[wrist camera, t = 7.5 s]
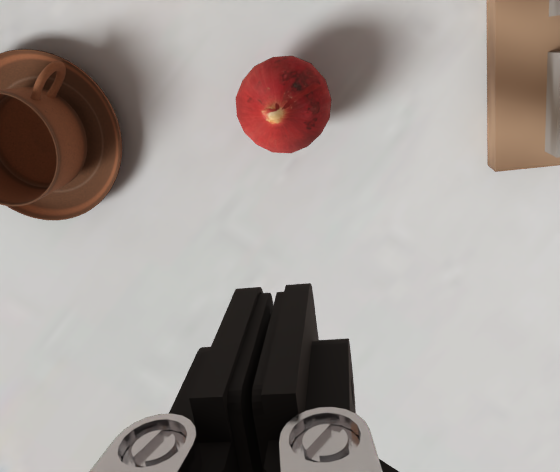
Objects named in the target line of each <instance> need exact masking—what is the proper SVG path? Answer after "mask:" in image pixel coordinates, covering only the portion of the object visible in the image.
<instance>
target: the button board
mask: <svg viewBox="0 0 560 472" xmlns="http://www.w3.org/2000/svg"><path fill="white" fill-rule="evenodd" d="M487 143H488V166H489V167H491V168H492V169H493V170H494V171H495V172H497V171H507V170H517V169H527V168H537V167H546V166H556V165H560V0H487Z"/></svg>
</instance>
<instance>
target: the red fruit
mask: <svg viewBox="0 0 560 472" xmlns="http://www.w3.org/2000/svg"><path fill="white" fill-rule="evenodd" d="M330 107H331V97H330V94H329V90H328V87H327V83H326V80H325V78H324V77H323V76H322V75H321V74H320V73H319V72H318V71H317V69H316V68H315V67H314V66H313V65H312V64H311V63H309V62H306V61H304V60H301V59H299V58H296V57H294V56H282V57H272V58H270V59H268V60H266V61H264V62H262V63H260V64H258V65H256V66H254V68H253V69H252V70H251V71H250V72H249V74H248V75H247V76H246V77H245V78H244V80H243V81H242V84H241V86H240V89H239V91H238V93H237V96H236V108H237V117H238V119H239V122H240V124H241V126H242V128H243V130H244V132H245V133H246V134H247V135H248V136H249V137H250V138H251V139H252V140H253V141H254V142H255V143H256V144H257V145H259V146H261V147H263V148H265V149H267V150H269V151H271V152H277V153H293V152H295V151H298V150H300V149H302V148H305V147H307V146H309V145H310V144H311V143H312V142H313V141H314V140H315V139H316V138H317V137H318V136H319V135H320V134H321V133H322V131H323V129H324V127H325V126H326V124H327V122H328V120H329V117H330Z"/></svg>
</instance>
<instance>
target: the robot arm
mask: <svg viewBox="0 0 560 472" xmlns="http://www.w3.org/2000/svg"><path fill="white" fill-rule="evenodd" d="M89 472H398V471H397V470H395V469H394V468H392V467H391V466H389V465H388V464H386V463H385V462H383V461H382V460H380V459H379V458H378V455H377V452H376V448H375V445H374V442H373V438H372V435H371V432H370V429H369V427H368V425H367V424H366V422H365V421H364V420H363V419H362V418H361V417H360V416H358V415H357V414H356V413H355V396H354V383H353V372H352V362H351V353H350V344H349V339H334V340H318V332H317V324H316V315H315V307H314V299H313V292H312V286H311V284H310V283H309V284H296V285H286V287H285V291H284V292H277V294H276V298H275V302H274V306H273V301H272V296H271V293H263V291H262V289H261V287H256V288H243V289H236V290H235V292H234V294H233V297H232V299H231V301H230V304H229V306H228V308H227V311H226V313H225V315H224V318H223V320H222V322H221V325H220V327H219V329H218V332H217V334H216V336H215V339H214V341H213V343H212V346H211V347H202V348H200V349H199V351H198V352H197V354H196V356H195V359H194V361H193V363H192V365H191V367H190V369H189V371H188V374H187V376H186V378H185V380H184V382H183V384H182V386H181V389H180V391H179V393H178V395H177V397H176V399H175V402H174V404H173V406H172V408H171V410H170V412H169V414H158V415H154V416H150V417H146V418H144V419H142V420H139V421H137V422H135V423H133V424H132V425H130V426H129V427H127V428H126V429H124V430H123V431H122V432H121V433H120V434H119V435H118V436H117V437H116V438H115V439H114V440H113V442H112V443H111V444H110V446H109V447H108V448H107V449H106V451H105V452H104V453H103V455H102V456H101V457H100V458H99V460H98V461H97V462H96V464H95V465H94V466H93V468H92V469H91V470H90V471H89Z"/></svg>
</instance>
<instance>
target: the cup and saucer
mask: <svg viewBox="0 0 560 472" xmlns="http://www.w3.org/2000/svg"><path fill="white" fill-rule="evenodd" d="M121 158H122V139H121V132H120V128H119V124H118V121H117V118H116V115H115V112H114V110H113V108H112V106H111V104H110V102H109V100H108V99H107V97H106V96H105V94H104V93H103V91H102V90H101V89H100V87H99V86H98V85H97V84H96V83H95V82H94V81H93V79H92V78H91V77H89V76H88V75H87V74H86V73H85V72H84V71H82V70H81V69H80V68H79V67H77V66H75V65H74V64H72V63H71V62H69V61H67V60H65V59H63V58H61V57H58V56H56V55H53V54H50V53H47V52H43V51H38V50H29V49H21V50H12V51H7V52H4V53H1V54H0V204H1V205H6V206H8V207H9V208H11V209H13V210H15V211H17V212H19V213H21V214H24V215H26V216H30V217H33V218H37V219H43V220H64V219H69V218H73V217H76V216H79V215H81V214H84V213H86V212H87V211H89V210H91V209H92V208H94V207H95V206H96V205H98V204H99V203H100V202H101V201H102V200H103V199H104V197H105V196H106V195H107V194H108V192H109V191H110V189H111V188H112V186H113V184H114V182H115V180H116V178H117V175H118V172H119V168H120V164H121Z"/></svg>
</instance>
